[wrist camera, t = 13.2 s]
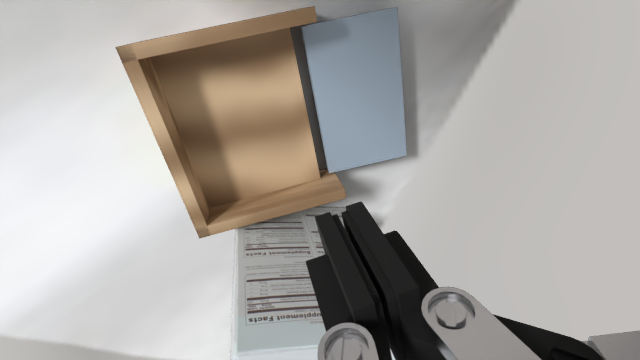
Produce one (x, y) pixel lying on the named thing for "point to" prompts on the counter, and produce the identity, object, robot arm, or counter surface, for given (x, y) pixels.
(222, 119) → the crate
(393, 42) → the panel
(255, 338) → the supplement box
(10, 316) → the counter surface
